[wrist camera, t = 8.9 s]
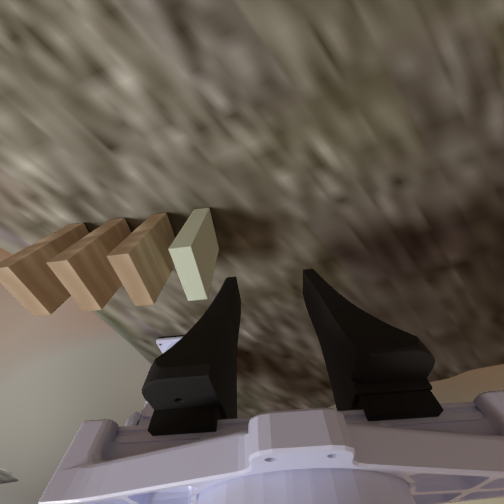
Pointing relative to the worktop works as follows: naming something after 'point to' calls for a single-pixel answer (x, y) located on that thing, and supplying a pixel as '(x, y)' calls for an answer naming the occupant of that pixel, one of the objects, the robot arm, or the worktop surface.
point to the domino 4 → (196, 254)
